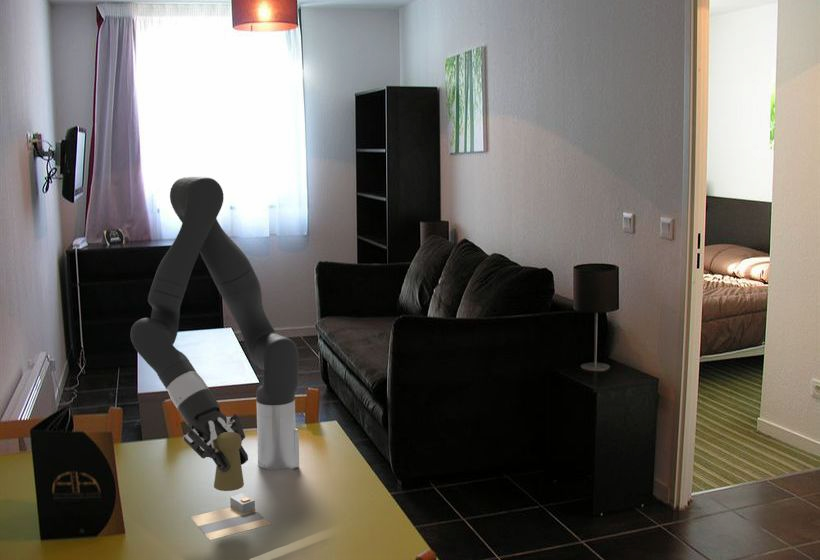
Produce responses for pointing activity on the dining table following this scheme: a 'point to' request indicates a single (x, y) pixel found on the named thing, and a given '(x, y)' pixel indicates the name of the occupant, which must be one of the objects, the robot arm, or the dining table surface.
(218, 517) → the plywood board
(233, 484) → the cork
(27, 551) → the dining table surface
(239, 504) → the block
